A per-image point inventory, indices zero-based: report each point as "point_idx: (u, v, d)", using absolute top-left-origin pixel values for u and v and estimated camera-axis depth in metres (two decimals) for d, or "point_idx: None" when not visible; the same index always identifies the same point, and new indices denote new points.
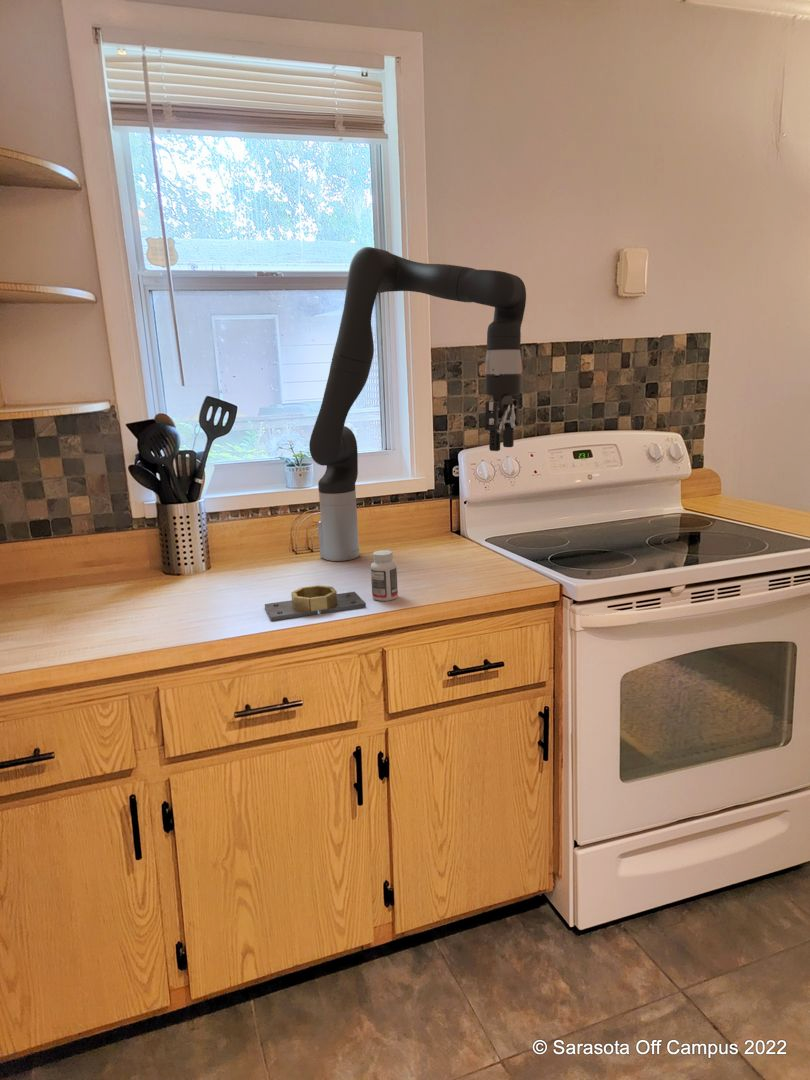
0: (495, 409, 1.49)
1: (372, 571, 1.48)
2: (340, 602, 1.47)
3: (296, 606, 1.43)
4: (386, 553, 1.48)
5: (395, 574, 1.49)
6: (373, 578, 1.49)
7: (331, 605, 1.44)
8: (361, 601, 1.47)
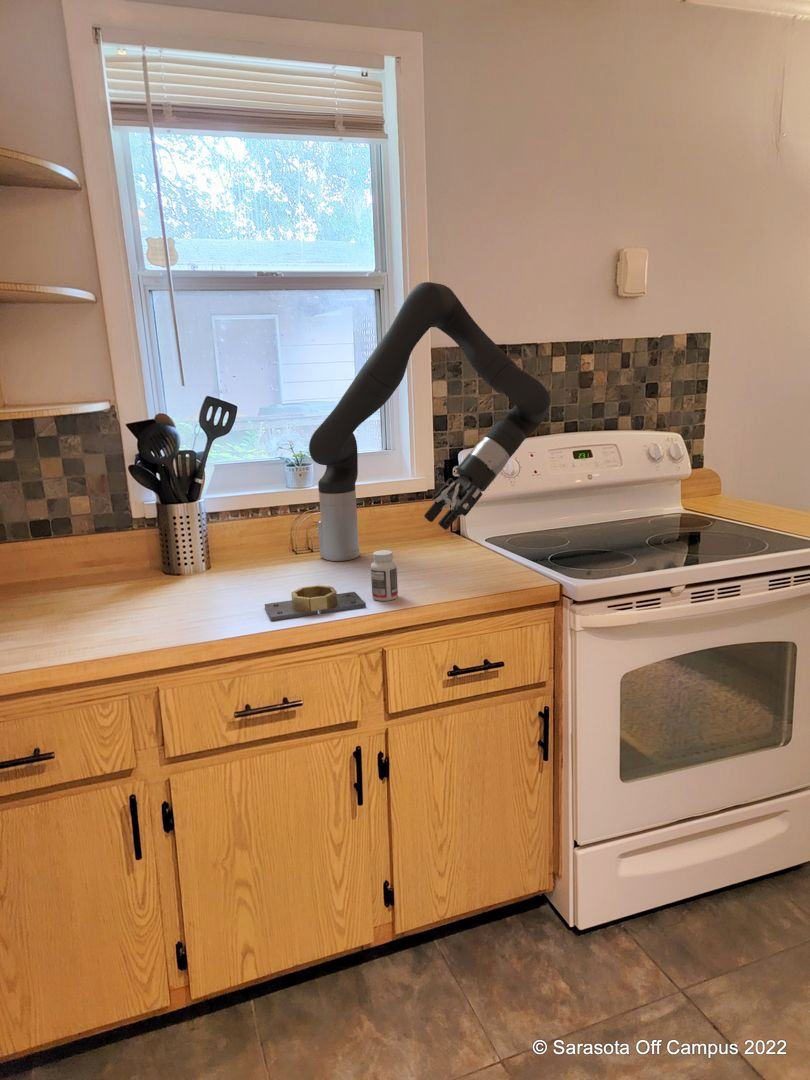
0: (477, 499, 1.46)
1: (372, 571, 1.48)
2: (340, 602, 1.47)
3: (296, 606, 1.43)
4: (386, 553, 1.48)
5: (395, 574, 1.49)
6: (373, 578, 1.49)
7: (331, 605, 1.44)
8: (361, 601, 1.47)
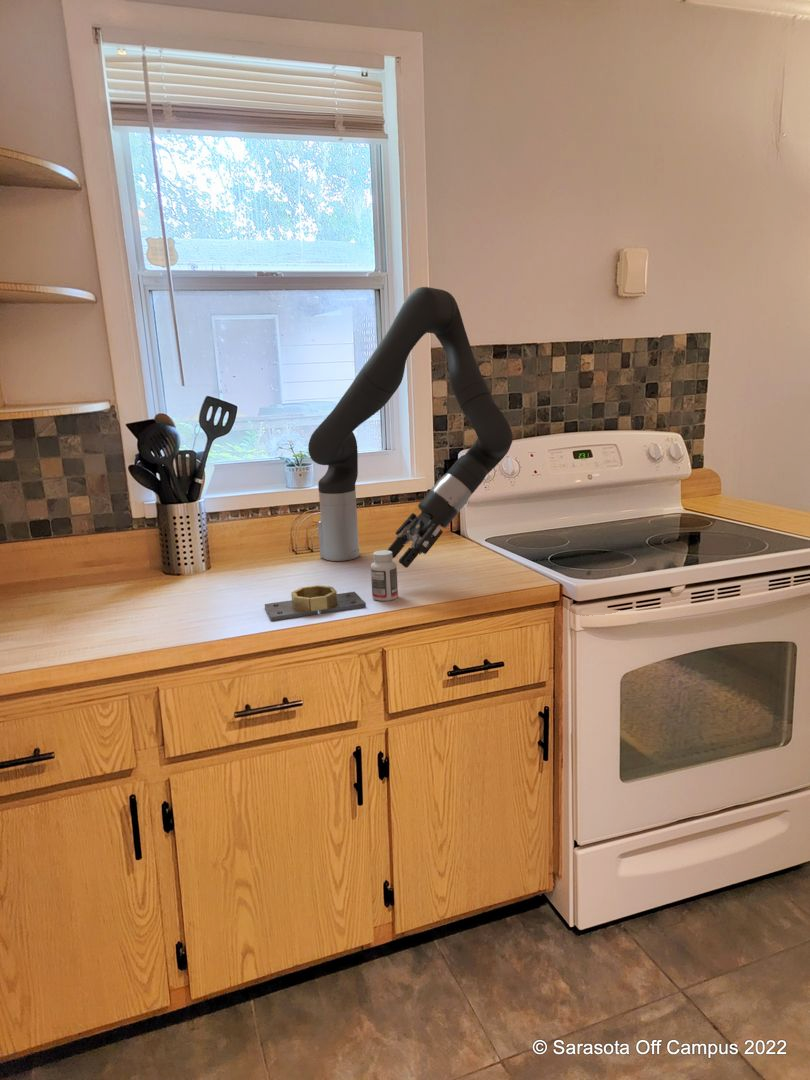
0: (437, 537, 1.45)
1: (372, 571, 1.48)
2: (340, 602, 1.47)
3: (296, 606, 1.43)
4: (386, 553, 1.48)
5: (395, 574, 1.49)
6: (373, 578, 1.49)
7: (331, 605, 1.44)
8: (361, 601, 1.47)
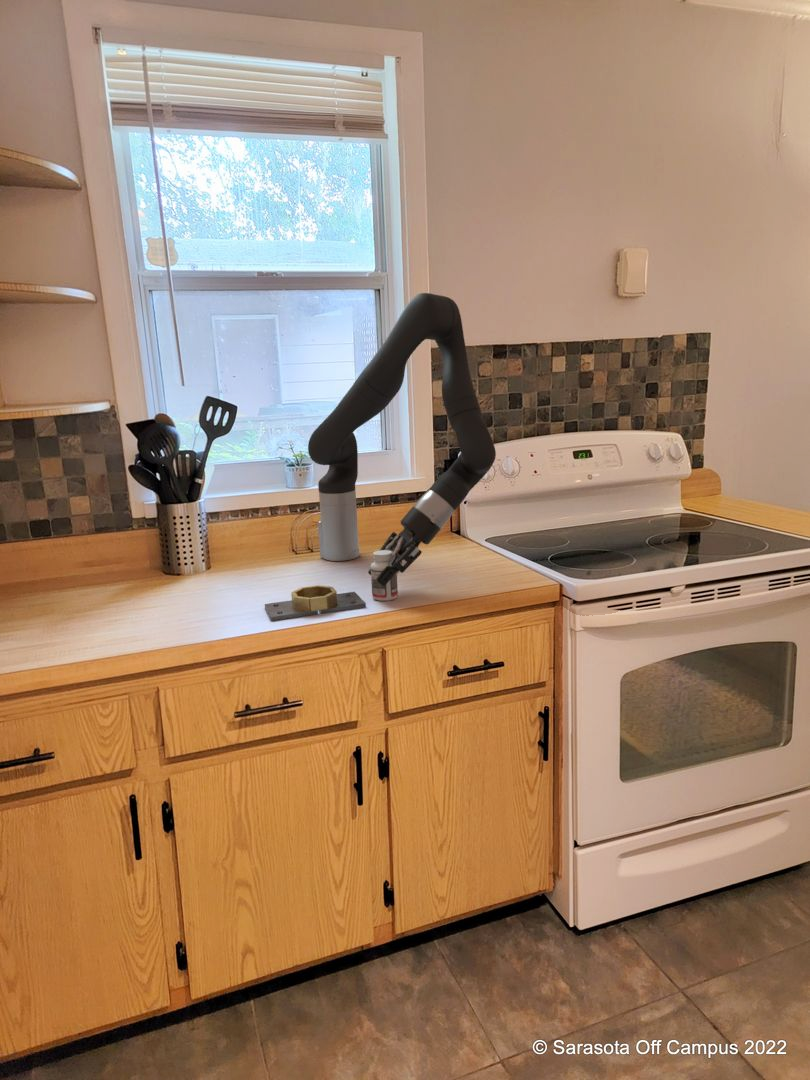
0: (415, 557, 1.44)
1: (372, 571, 1.48)
2: (340, 602, 1.47)
3: (296, 606, 1.43)
4: (386, 553, 1.48)
5: (395, 574, 1.49)
6: (373, 578, 1.49)
7: (331, 605, 1.44)
8: (361, 601, 1.47)
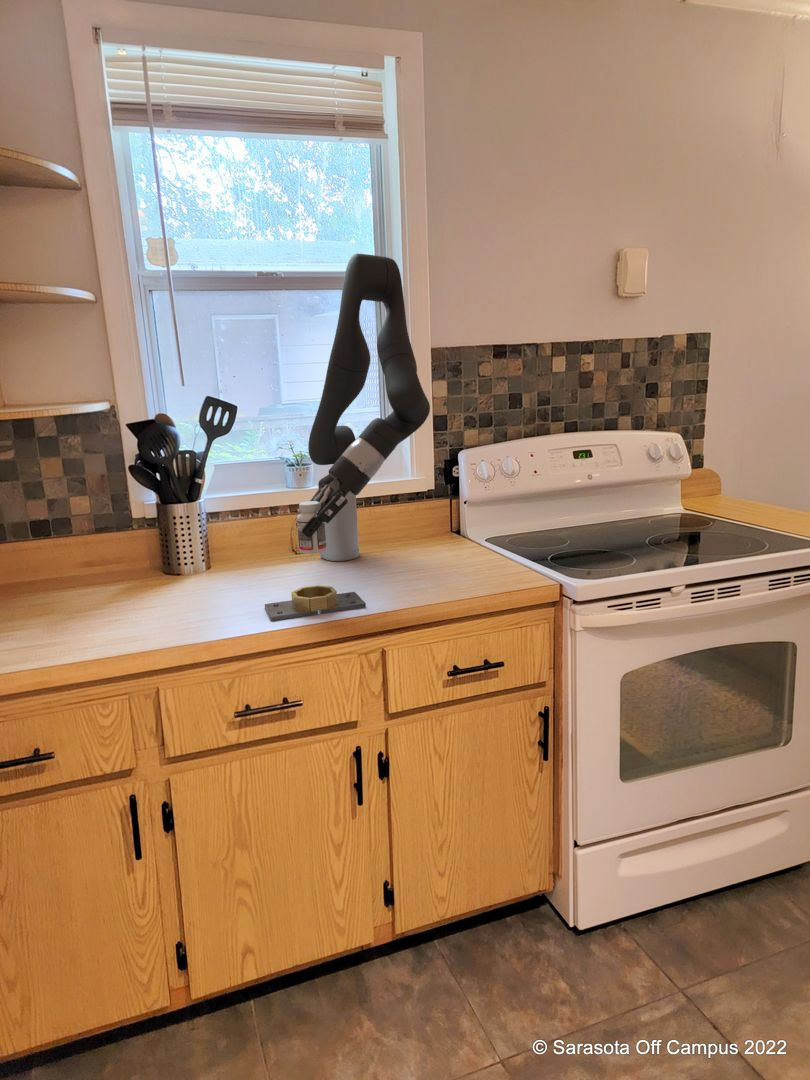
0: (341, 506, 1.37)
1: (298, 522, 1.41)
2: (340, 602, 1.47)
3: (296, 606, 1.43)
4: (312, 503, 1.41)
5: (322, 526, 1.42)
6: (299, 530, 1.42)
7: (331, 605, 1.44)
8: (361, 601, 1.47)
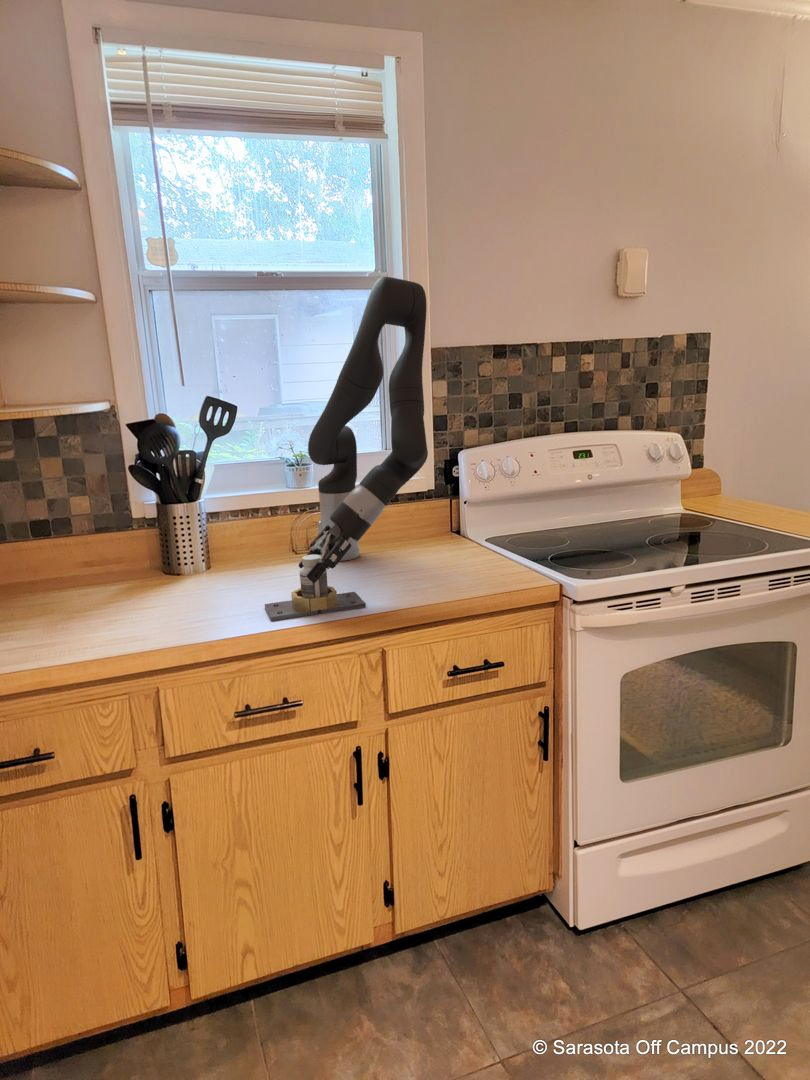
0: (345, 551, 1.39)
1: (300, 576, 1.44)
2: (340, 602, 1.47)
3: (296, 606, 1.43)
4: (315, 557, 1.44)
5: (325, 579, 1.45)
6: (302, 583, 1.44)
7: (331, 605, 1.44)
8: (361, 601, 1.47)
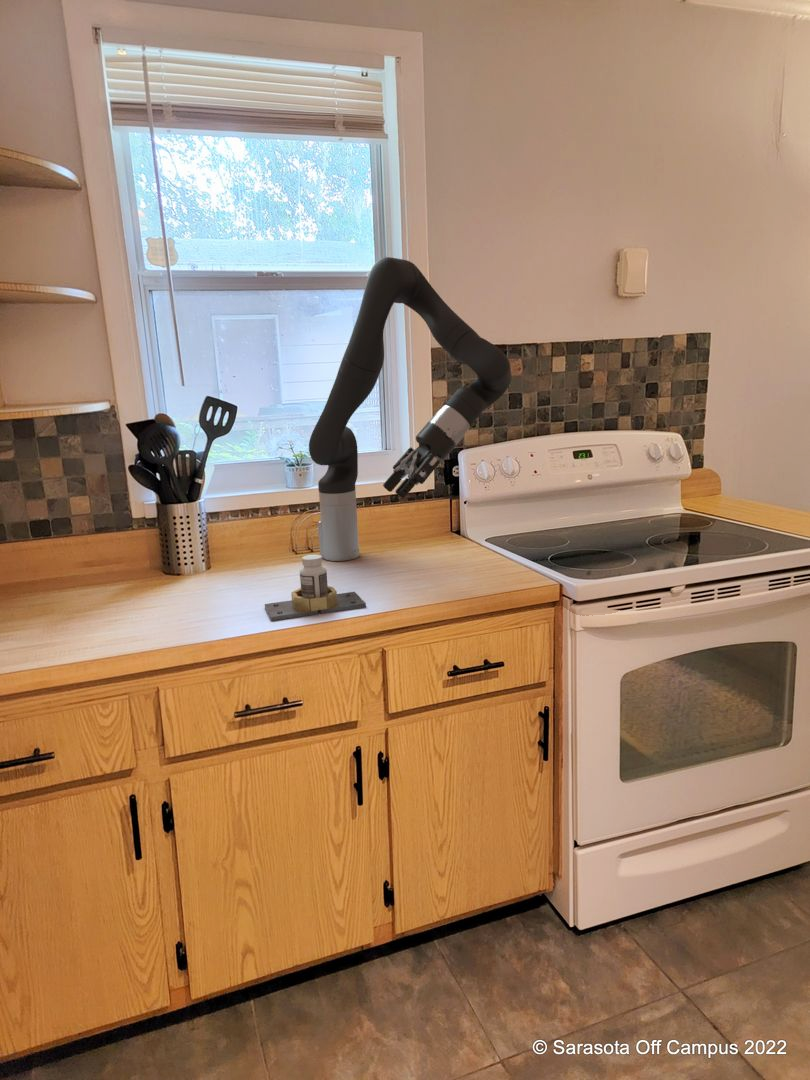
0: (434, 466, 1.43)
1: (300, 576, 1.44)
2: (340, 602, 1.47)
3: (296, 606, 1.43)
4: (315, 557, 1.44)
5: (325, 579, 1.45)
6: (302, 583, 1.44)
7: (331, 605, 1.44)
8: (361, 601, 1.47)
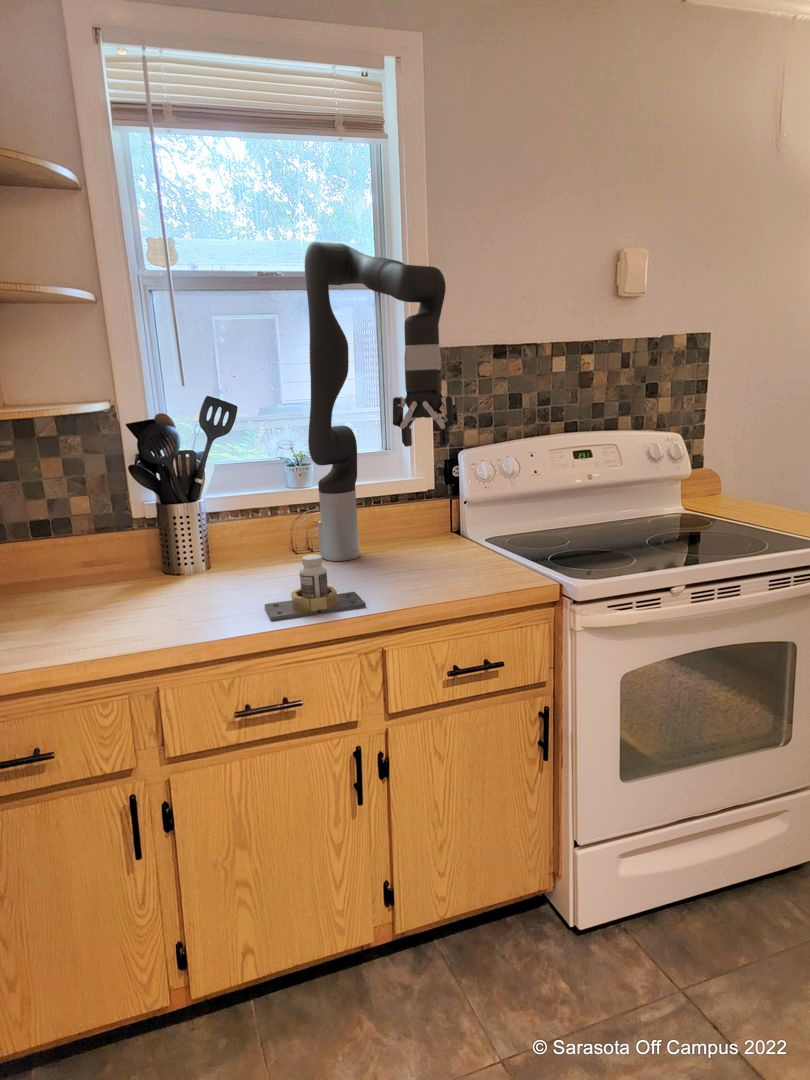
0: (456, 403, 1.49)
1: (300, 576, 1.44)
2: (340, 602, 1.47)
3: (296, 606, 1.43)
4: (315, 557, 1.44)
5: (325, 579, 1.45)
6: (302, 583, 1.44)
7: (331, 605, 1.44)
8: (361, 601, 1.47)
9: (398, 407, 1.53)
